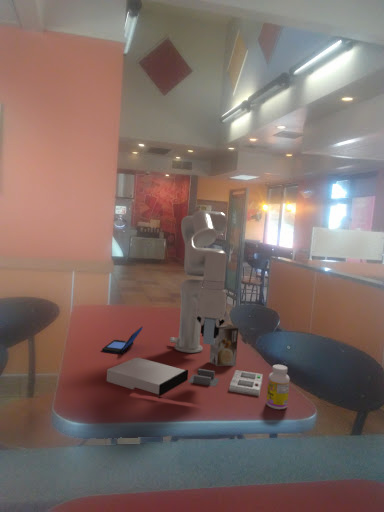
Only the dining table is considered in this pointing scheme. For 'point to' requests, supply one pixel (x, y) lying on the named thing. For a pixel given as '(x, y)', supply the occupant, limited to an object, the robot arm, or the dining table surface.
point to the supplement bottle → (278, 387)
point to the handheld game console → (121, 344)
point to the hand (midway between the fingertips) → (209, 336)
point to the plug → (209, 331)
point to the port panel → (246, 383)
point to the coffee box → (224, 346)
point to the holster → (204, 378)
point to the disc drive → (146, 375)
